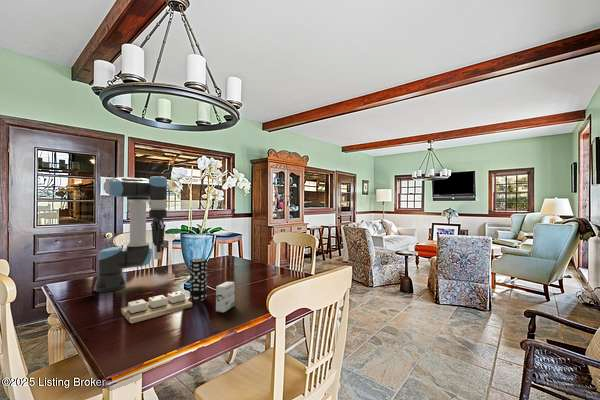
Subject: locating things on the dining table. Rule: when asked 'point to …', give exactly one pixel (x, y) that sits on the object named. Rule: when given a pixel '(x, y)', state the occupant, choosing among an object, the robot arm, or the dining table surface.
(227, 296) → the ink box
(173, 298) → the three pip tile
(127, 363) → the dining table surface
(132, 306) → the one pip tile
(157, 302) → the two pip tile
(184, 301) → the button board
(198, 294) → the spotted tube
